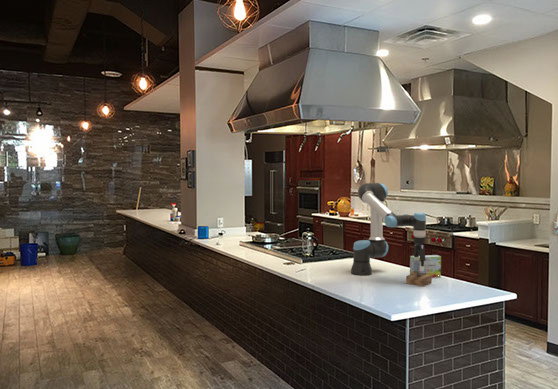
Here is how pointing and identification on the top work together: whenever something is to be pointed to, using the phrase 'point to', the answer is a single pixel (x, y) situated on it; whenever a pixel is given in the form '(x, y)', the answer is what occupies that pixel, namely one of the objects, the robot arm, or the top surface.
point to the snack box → (429, 265)
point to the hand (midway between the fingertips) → (419, 269)
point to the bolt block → (418, 279)
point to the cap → (417, 265)
